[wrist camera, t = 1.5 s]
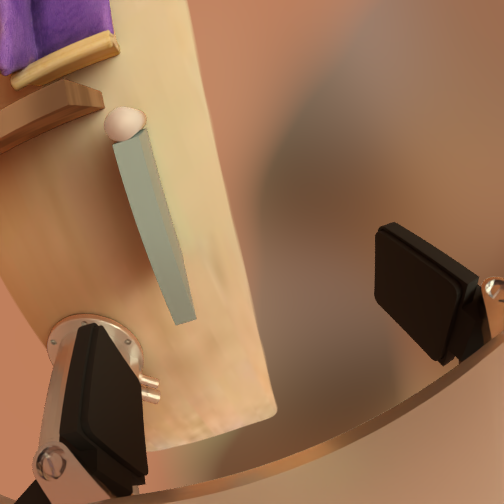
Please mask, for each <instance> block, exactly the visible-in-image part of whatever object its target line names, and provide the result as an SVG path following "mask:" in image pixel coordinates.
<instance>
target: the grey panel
mask: <svg viewBox="0 0 504 504" xmlns="http://www.w3.org/2000/svg"><path fill="white" fill-rule="evenodd" d="M146 121H147V118H146V115H145V113H144V112H142V111H141V110H137V109H133V108H129V107H117V108H115V109H113V110H112V111H111V112H109V114H108V115H107V116H106V119H105V122H104V129H105V132H106V134H107V136H108V137H109V138H110V139H112V140H114V141H118V142H116V143H115V144H113V145H112V146H113V150H114V153H115V157H116V161H117V164H118V167H119V171H120V174H121V178H122V181H123V184H124V188H125V191H126V194H127V197H128V200H129V203H130V206H131V209H132V212H133V216H134V218H135V221H136V224H137V227H138V230H139V233H140V236H141V239H142V242H143V244H144V247H145V250H146V253H147V255H148V258H149V261H150V263H151V266H152V269H153V271H154V274H155V276H156V279H157V282H158V284H159V287H160V289H161V292H162V294H163V296H164V299H165V301H166V304H167V306H168V309H169V311H170V313H171V316H172V318H173V320H174V323H175V325H179V324H183V323H186V322H189V321H193V320H196V319H197V318H196V314H195V310H194V306H193V301H192V297H191V292H190V288H189V283H188V279H187V274H186V269H185V265H184V260H183V255H182V251H181V248H180V245H179V242H178V239H177V235H176V232H175V229H174V226H173V222H172V219H171V216H170V212H169V209H168V206H167V202H166V199H165V195H164V192H163V188H162V185H161V181H160V177H159V174H158V170H157V166H156V163H155V159H154V155H153V151H152V147H151V143H150V139H149V135H148V131H147V128H146V129H142V128H143V127H144V126H145V124H146ZM141 129H142V130H141Z"/></svg>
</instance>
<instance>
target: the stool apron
mask: <svg viewBox="0 0 504 504" xmlns="http://www.w3.org/2000/svg"><path fill="white" fill-rule="evenodd" d="M103 108H105V106H104V102H103V97H102V93H101V92H100V91H98V90H95V89H92V88H89V87H87V86H84V85H81V84H78V83H75V82H72V81H69V80H66V79H61V80H59V81H57V82H54V83H52V84H50V85H48V86H46V87H43V88H41V89H39V90H37V91H35V92H33V93H31V94H29V95H27V96H25V97H23V98H21V99H19V100H18V101H16V102H14V103H12V104H10V105H8V106H7V107H5V108H3V109H1V110H0V154H2V153H4V152H6V151H8V150H10V149H12V148H13V147H15V146H17V145H19V144H21V143H23V142H25V141H27V140H29V139H31V138H33V137H35V136H37V135H40V134H42V133H44V132H46V131H48V130H50V129H53V128H55V127H57V126H60V125H62V124H64V123H67V122H69V121H72V120H74V119H76V118H79V117H81V116H84V115H87V114H89V113H92V112H95V111H97V110H100V109H103Z"/></svg>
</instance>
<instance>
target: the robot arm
mask: <svg viewBox="0 0 504 504" xmlns="http://www.w3.org/2000/svg"><path fill="white" fill-rule="evenodd" d="M478 279H479V277H478V276H477V275H476V274H474V273H473V272H471V271H470V270H468V269H467V268H466V267H464V266H463V265H461V264H460V263H458V262H457V261H455V260H454V259H452V258H451V257H449V256H448V255H446V254H445V253H443V252H442V251H440V250H439V249H437V248H436V247H434V246H433V245H431V244H430V243H428V242H426V241H425V240H423V239H422V238H420V237H419V236H417V235H415V234H414V233H412V232H410V231H409V230H407V229H405V228H404V227H402V226H401V225H399V224H397V223H395V222H393V223H389V224H387V225H384V226H381V227H380V228H379V229H378V232H377V233H376V235H375V289H374V290H375V291H374V296H375V299H376V301H377V303H378V304H379V305H380V306H381V307H382V308H383V309H384V310H385V311H386V312H387V313H388V314H389V315H390V316H391V317H392V318H393V319H394V320H395V321H396V322H397V323H398V324H399V325H400V326H401V327H402V328H403V329H404V330H405V331H406V332H407V333H408V334H409V335H410V337H411V338H412V339H413V340H414V341H415V342H416V343H417V344H418V345H419V346H420V347H421V348H422V349H423V350H424V351H425V352H426V353H427V354H428V355H429V356H430V358H431V359H433V360H434V361H438V362H439V363H441V365H442V366H444V365H446V364H447V363H449V362H450V361H451V360H453V359H454V357H455V356H456V357H457V358H458V359H459V365H457V366H456V367H455V368H453V369H452V370H450V371H449V372H448V373H446V374H445V375H443V376H442V377H440V378H439V379H437V380H436V381H434V382H433V383H431V384H430V385H428V386H427V387H426V388H424V389H422V390H421V391H419V392H418V393H416V394H414V395H413V396H411V397H409V398H408V399H406V400H404V401H403V402H401V403H399V404H398V405H396V406H394V407H393V408H391V409H389V410H387V411H385V412H384V413H382V414H380V415H378V416H376V417H374V418H373V419H371V420H369V421H367V422H365V423H363V424H361V425H359V426H357V427H355V428H353V429H351V430H349V431H347V432H345V433H343V434H341V435H338V436H336V437H334V438H332V439H330V440H327V441H325V442H323V443H321V444H318V445H316V446H314V447H311V448H309V449H306V450H304V451H301V452H299V453H296V454H294V455H291V456H288V457H285V458H283V459H280V460H277V461H274V462H272V463H269V464H266V465H263V466H260V467H257V468H254V469H250V470H247V471H244V472H240V473H237V474H234V475H230V476H226V477H222V478H219V479H215V480H211V481H206V482H202V483H198V484H193V485H189V486H184V487H179V488H174V489H170V490H164V491H158V492H152V493H146V494H139V488H138V485H143V484H145V476H144V475H147V474H148V464H147V456H146V446H145V435H144V422H143V407H142V400H143V401H146V402H150V403H154V404H157V403H158V402H159V400H160V391H158V390H155V389H156V388H157V387H158V385H159V379H157V378H154V377H151V376H146V375H143V374H142V369H143V362H144V360H143V351H142V348H141V345H140V343H139V342H138V340H137V338H136V337H135V336H134V335H133V334H132V333H131V332H130V331H129V330H128V329H127V328H126V327H124V326H123V325H121V324H119V323H118V322H116V321H114V320H111V319H109V318H107V317H103V316H99V315H93V314H77V315H72V316H69V317H66V318H64V319H62V320H61V321H59V322H58V323H57V324H56V325H55V326H54V327H53V329H52V330H51V333H50V335H49V338H48V342H47V352H48V355H49V359H50V361H51V363H52V365H53V371H52V375H51V379H50V384H49V388H48V393H47V398H46V403H45V408H44V414H43V419H42V426H41V432H40V439H39V447H38V451H37V452H36V454H35V456H34V458H33V463H32V468H33V473H34V476H35V478H36V480H35V481H34V482H33V483H32V484H31V485H30V486H29V487H28V488H27V490H26V491H25V492H24V493H23V494H22V495H21V496H20V497H19V498H18V500H17V501H15V500H13V499H10V498H8V497H5V496H2V495H0V504H504V278H502V277H489V278H487V279H485V280H484V281H483V283H482V285H481V287H480V286H479V285H478V284H477V283H478ZM141 384H143V385H146V386H148V387H151V388H148V387H142V386H141ZM152 388H155V389H152Z"/></svg>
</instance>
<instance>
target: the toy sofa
mask: <svg viewBox="0 0 504 504" xmlns="http://www.w3.org/2000/svg"><path fill="white" fill-rule="evenodd" d="M118 54H120V48H119V45H118V43H117V41H116V36H115V31H114V26H113V21H112V16H111V10H110V3H109V0H0V73H2V75H4V76H7V75H9V74H11V73H12V75H11V78H10V82H11V86H12V87H13V88H14V89H15V90H20V89H22V88H24V87H25V86H27V85H35V86H43V85H45V84H47V83H49V82H51V81H53V80H55V79H58V78H60V77H62V76H64V75H67V74H69V73H71V72H74V71H76V70H79V69H81V68H84V67H86V66H89V65H91V64H94V63H96V62H99V61H102V60H104V59H107V58H110V57H113V56H116V55H118Z"/></svg>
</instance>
